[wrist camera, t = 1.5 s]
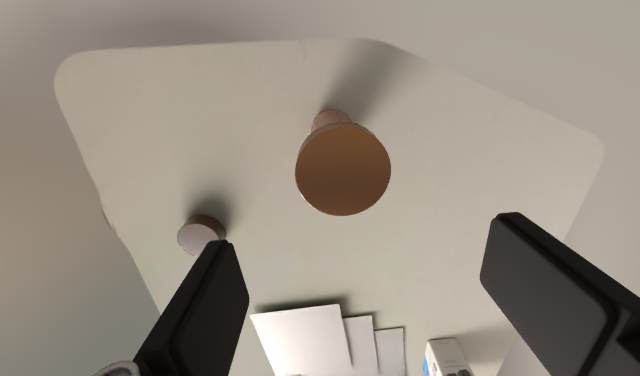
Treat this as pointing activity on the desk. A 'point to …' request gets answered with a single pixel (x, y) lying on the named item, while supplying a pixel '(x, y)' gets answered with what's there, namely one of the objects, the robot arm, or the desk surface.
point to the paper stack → (328, 343)
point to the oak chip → (342, 169)
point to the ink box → (445, 359)
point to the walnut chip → (199, 233)
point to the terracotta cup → (330, 118)
